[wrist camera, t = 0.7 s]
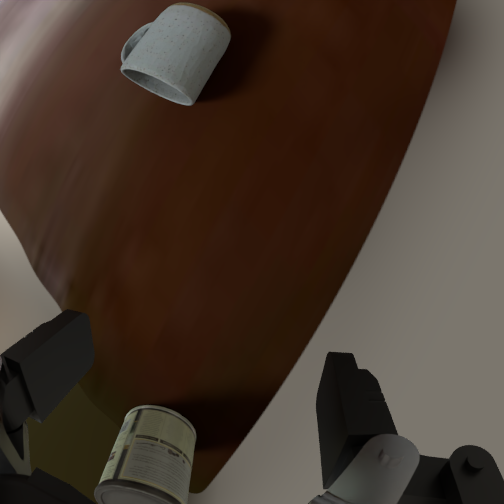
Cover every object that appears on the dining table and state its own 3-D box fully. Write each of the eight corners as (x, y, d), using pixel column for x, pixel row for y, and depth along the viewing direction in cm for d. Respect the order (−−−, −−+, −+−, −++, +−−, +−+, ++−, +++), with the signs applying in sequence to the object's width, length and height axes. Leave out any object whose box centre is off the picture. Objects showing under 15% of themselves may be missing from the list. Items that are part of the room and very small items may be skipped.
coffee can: (193, 459, 38) (183, 536, 25) (125, 443, 38) (99, 515, 24) (201, 413, 36) (189, 501, 22) (124, 395, 35) (87, 474, 22)
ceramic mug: (237, 46, 27) (235, 10, 19) (198, 113, 28) (183, 92, 21) (150, 17, 25) (128, -18, 18) (112, 79, 27) (79, 56, 19)
